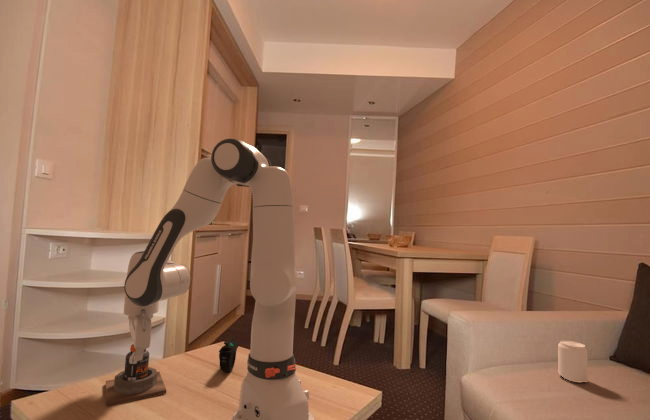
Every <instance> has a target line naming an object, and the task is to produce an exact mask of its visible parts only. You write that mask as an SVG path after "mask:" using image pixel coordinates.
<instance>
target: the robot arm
mask: <svg viewBox="0 0 650 420" xmlns="http://www.w3.org/2000/svg"><path fill="white" fill-rule="evenodd" d="M235 185H236V186H237V187H244V188H245V187H246V188H250V191H251V195H252V248H251V257H250V258H251V261H250V262H251V263H250V278H249V281H250V282H249V287H250V289H249V290H250V293H251V296H252V297H253V298H254V300H255V303H254V309H253V314H252V321H251V330H250V332H251V333H250V349H249V353H248V356H247V362H246V363H247V367H246V369H247V373H246V376H245V377H244V379H243V380H242V382H241V384H240V392H239V399H238V400H239V401H238V408H237V410H236V411H235V412H233V414H232V419H231V420H316V419H315V418H314V416H313V415H312V413H311V412H310V409H309V399H310V393H309V390H308V389H303V387H302V386H303V385H302V384H301V383H302V382H301V379H299V378H298V376H297V373H296V370H297V364H296V358H295V354H294V353H293V350H294V331H295V330H294V329H295V328H294V327H295V317H296V316H295V315H296V314H295V313H296V299H297V286H298V285H297V283H298V272H297V269H296V266H295V265H296V264H295V259H296V258H295V255H296V254H295V250H296V249H295V247H296V246H295V239H296V237H295V236H296V234H295V233H296V231H295V202H294V201H295V200H294V190H293V186H292V181H291V176H290V174H289V172H288V171H287V170H285V169H284V168H282V167H280V166H276V165H273V166H272V163H271V161H270V160H269V158H268V157H267V156H266V155H265V154H264V153H262V152H260V151H259V150H258V149H257V148H256V147H255V146H253V145H251V144H248V143H247V142H245V141H243V140H240V139H238V138H237V139H236V138H225V139H223V140H221V141H219V142H218V143H217V144H215V146H214V147H213V149H212V151H211V157H203V158H201V159H199V160H198V161H197V163H196V164H195V165H194V167H193V168H192V170H191V172H190V174H189V176H188V177H187V180H186V181H185V185H184V187H183V189H182V190H181V193H180V195H179V197H178V199H177V201H176V203H174V205H173V206H172V208H171V209H170V210H169V211H168V212H167V213H165V215H163V217H162V218H161V220H160V222H159V224H158V225H157V227H156V229H155V230H154V233H153V234H152V236H151V238H150V239H149V241H148V244H147V246H146V248H145V249H144V250H142V251H137V252H135V253H133V254H132V255H131V256H130V259H129V262H128V266H127V274H126V277H125V280H124V286H123V288H124V293H125V295H124V305H123V315H125V316H127V317H128V318H127V319H128V323H129V325H128V327H129V332H130V336H131V340H132V344H134V348H135V349H136V353H135V360H136V361H140V360H142V359H143V353H144V349H145V348H146V349H149V348H150V347H151V341H152V339H151V338H152V319H153V318H154V315H155V314H157V313H158V312H159V307H160V302H161V301H165V300H168V299H172V298H176V297H179V296H181V295H183V294H186V292H187V291H188V290H189V289H190V287H191V284H192V275H191V274H192V273H191V272H190V270H189V268H188V267H187V266H186V265H184V264H181V263H177V262H176V261H172V260H171V259H170V257H171V256H172V254H173V252H174V250H175V248H176V246H177V245H178V243H179V241H181V240H182V239H183V238H184V237H185V236H187V235H189V234H190V233H192V232H194V231H197V230H198V229H202V228H204V227H206V226H209V225H210V224H212V223H213V221H214V220H215V218H216V217H217V216H218V214H219V212H220V210H221V207H222V204H223V201H224V199H225V196H226V194H227V192H228V190H229V189H230V188H231V187H233V186H235Z"/></svg>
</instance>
